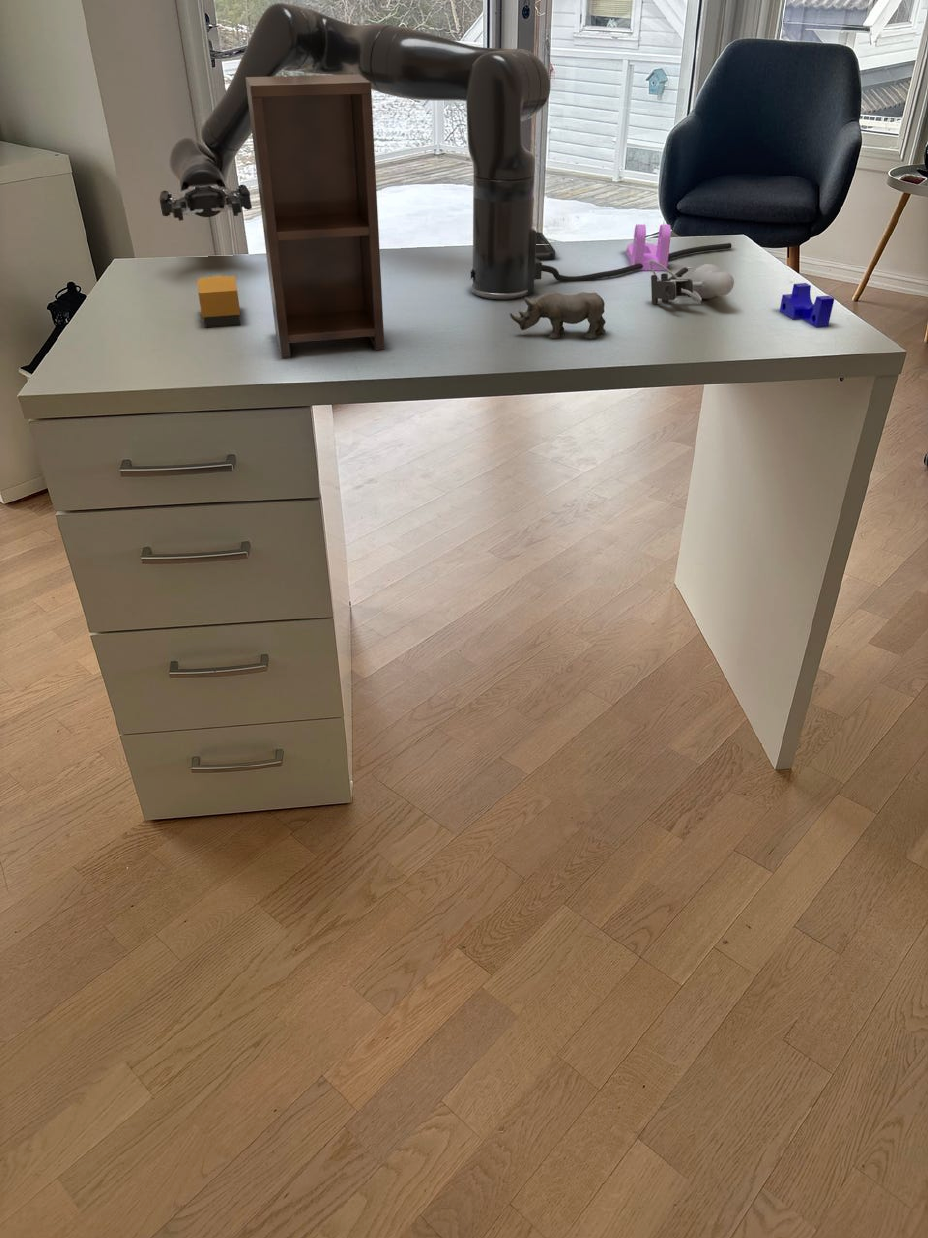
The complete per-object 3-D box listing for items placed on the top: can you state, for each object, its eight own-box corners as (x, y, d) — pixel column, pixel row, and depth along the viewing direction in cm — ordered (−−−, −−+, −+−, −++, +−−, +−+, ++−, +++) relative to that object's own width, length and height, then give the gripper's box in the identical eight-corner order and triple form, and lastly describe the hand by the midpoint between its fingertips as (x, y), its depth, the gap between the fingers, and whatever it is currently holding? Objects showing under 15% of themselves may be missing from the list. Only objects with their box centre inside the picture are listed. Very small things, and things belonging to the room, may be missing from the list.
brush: (236, 290, 150) (231, 258, 147) (241, 324, 136) (237, 290, 133) (202, 293, 149) (196, 260, 146) (204, 327, 135) (198, 292, 132)
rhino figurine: (508, 329, 134) (509, 287, 131) (603, 330, 134) (607, 287, 131) (509, 339, 131) (510, 296, 128) (607, 339, 131) (611, 296, 127)
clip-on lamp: (633, 301, 155) (665, 310, 138) (631, 261, 152) (664, 265, 136) (702, 292, 155) (742, 299, 139) (701, 251, 153) (742, 254, 136)
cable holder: (779, 311, 142) (784, 284, 139) (800, 309, 142) (805, 282, 140) (806, 327, 135) (812, 300, 133) (828, 326, 136) (834, 298, 134)
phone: (512, 253, 164) (501, 232, 176) (512, 260, 164) (500, 239, 177) (557, 252, 164) (542, 231, 177) (556, 259, 165) (541, 237, 177)
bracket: (666, 270, 160) (671, 227, 156) (633, 270, 160) (638, 227, 156) (655, 250, 170) (659, 210, 166) (624, 250, 170) (628, 209, 166)
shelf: (373, 328, 135) (359, 73, 116) (384, 349, 128) (371, 81, 109) (276, 336, 132) (245, 76, 113) (281, 358, 125) (250, 85, 106)
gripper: (155, 166, 155) (155, 189, 143) (242, 160, 158) (249, 182, 145) (165, 214, 160) (166, 240, 147) (248, 207, 162) (257, 232, 150)
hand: (207, 211), depth 146 cm, fingers open, 8 cm apart
